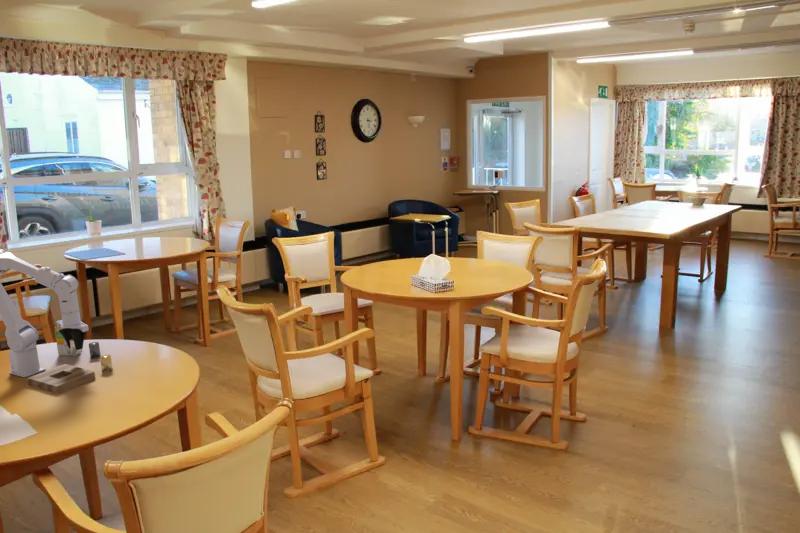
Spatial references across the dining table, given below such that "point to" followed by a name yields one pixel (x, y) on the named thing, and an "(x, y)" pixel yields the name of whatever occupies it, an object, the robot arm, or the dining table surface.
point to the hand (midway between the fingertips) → (75, 348)
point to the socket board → (61, 378)
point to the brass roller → (106, 363)
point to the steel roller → (73, 349)
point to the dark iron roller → (94, 350)
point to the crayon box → (62, 343)
